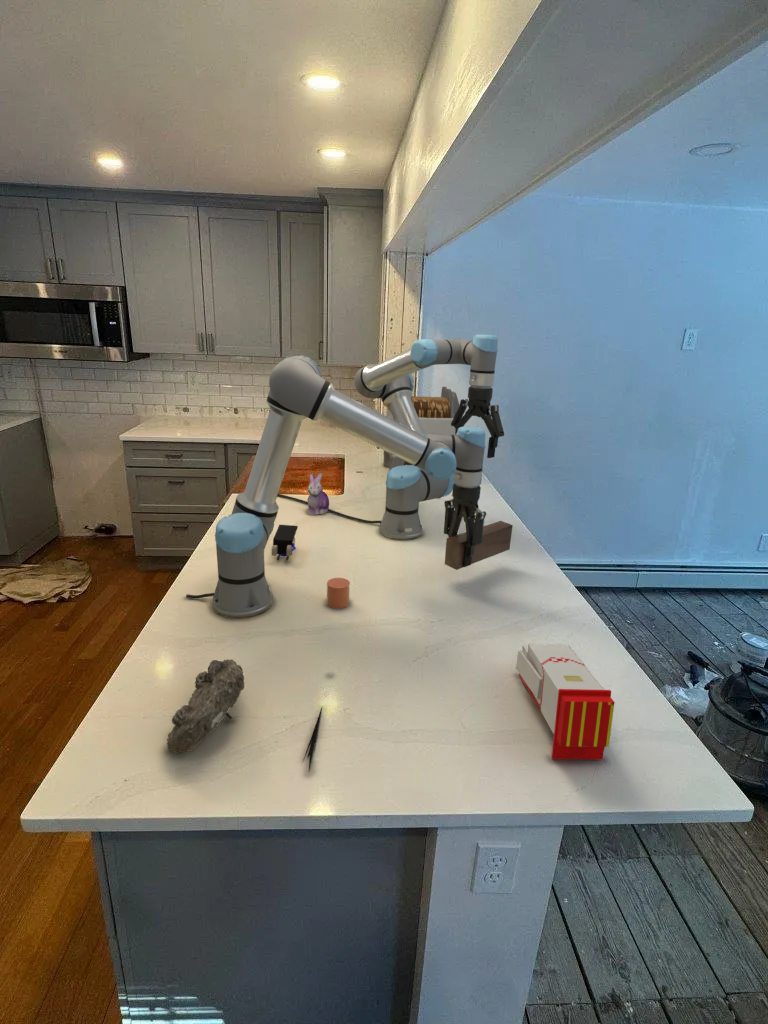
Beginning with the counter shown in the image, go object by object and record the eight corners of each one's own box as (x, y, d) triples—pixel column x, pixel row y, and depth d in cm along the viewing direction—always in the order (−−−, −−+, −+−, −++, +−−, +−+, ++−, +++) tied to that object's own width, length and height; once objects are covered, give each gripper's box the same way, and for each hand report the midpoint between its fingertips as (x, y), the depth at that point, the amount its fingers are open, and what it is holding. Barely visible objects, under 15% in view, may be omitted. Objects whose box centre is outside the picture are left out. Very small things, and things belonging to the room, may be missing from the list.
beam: (444, 564, 161) (446, 538, 159) (497, 544, 176) (500, 520, 173) (456, 569, 158) (458, 543, 155) (509, 549, 173) (512, 525, 170)
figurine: (311, 517, 211) (311, 478, 206) (301, 508, 220) (301, 471, 215) (334, 513, 216) (335, 476, 211) (324, 505, 224) (324, 469, 219)
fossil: (192, 660, 117) (244, 628, 112) (224, 691, 120) (276, 661, 115) (142, 746, 98) (202, 712, 93) (182, 779, 101) (242, 748, 96)
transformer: (382, 463, 289) (386, 382, 275) (445, 464, 293) (451, 384, 279) (390, 482, 257) (394, 392, 243) (460, 483, 261) (468, 394, 247)
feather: (331, 679, 122) (336, 673, 122) (307, 777, 96) (313, 769, 95) (324, 675, 122) (329, 669, 121) (298, 772, 95) (304, 764, 95)
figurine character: (292, 567, 173) (298, 543, 187) (292, 546, 170) (298, 523, 183) (270, 567, 173) (278, 542, 187) (269, 545, 170) (277, 522, 183)
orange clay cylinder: (322, 601, 152) (322, 581, 150) (340, 595, 156) (340, 575, 154) (335, 610, 148) (335, 590, 146) (353, 604, 151) (354, 583, 149)
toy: (564, 626, 126) (624, 698, 97) (558, 682, 129) (615, 767, 100) (510, 625, 126) (554, 696, 96) (506, 681, 128) (547, 766, 99)
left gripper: (434, 478, 158) (428, 555, 166) (483, 495, 145) (474, 577, 153) (452, 474, 163) (446, 549, 171) (501, 490, 150) (492, 569, 158)
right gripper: (443, 382, 183) (438, 446, 190) (505, 392, 166) (497, 463, 173) (459, 381, 188) (453, 443, 195) (520, 391, 170) (512, 459, 178)
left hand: (459, 562), depth 162 cm, fingers closed on beam, 5 cm apart
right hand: (474, 453), depth 184 cm, fingers open, 13 cm apart
